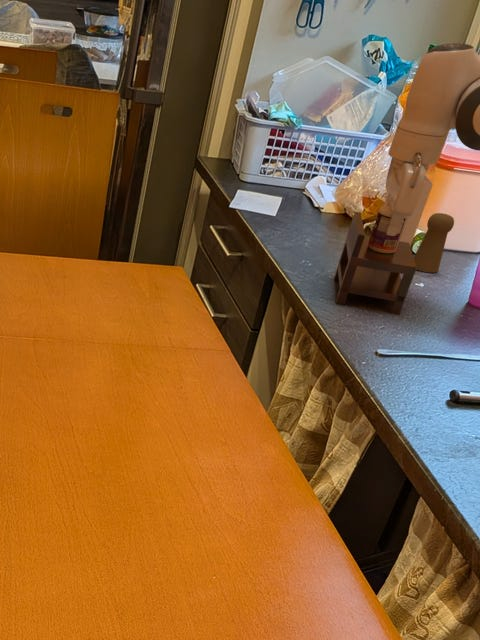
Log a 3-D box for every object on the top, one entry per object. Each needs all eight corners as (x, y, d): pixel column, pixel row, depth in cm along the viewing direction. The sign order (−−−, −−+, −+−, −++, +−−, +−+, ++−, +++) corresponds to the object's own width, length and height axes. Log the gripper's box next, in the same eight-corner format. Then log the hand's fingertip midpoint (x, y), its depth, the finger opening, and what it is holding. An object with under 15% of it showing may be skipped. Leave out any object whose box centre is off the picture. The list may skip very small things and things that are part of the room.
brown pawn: (417, 261, 206) (436, 208, 199) (443, 269, 203) (463, 216, 196) (405, 265, 203) (424, 212, 195) (430, 274, 199) (451, 220, 192)
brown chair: (392, 288, 190) (416, 221, 182) (398, 315, 178) (425, 245, 170) (333, 277, 192) (354, 211, 183) (335, 304, 180) (358, 234, 171)
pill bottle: (372, 243, 182) (389, 189, 176) (399, 250, 180) (417, 196, 174) (363, 248, 178) (380, 194, 172) (390, 256, 176) (409, 201, 170)
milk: (370, 277, 194) (409, 163, 180) (362, 268, 199) (399, 155, 185) (399, 280, 194) (439, 165, 180) (390, 270, 199) (429, 158, 185)
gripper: (440, 163, 159) (410, 246, 168) (428, 139, 175) (401, 216, 184) (403, 158, 160) (375, 240, 169) (394, 134, 176) (368, 211, 185)
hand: (388, 228), depth 177 cm, fingers open, 7 cm apart
